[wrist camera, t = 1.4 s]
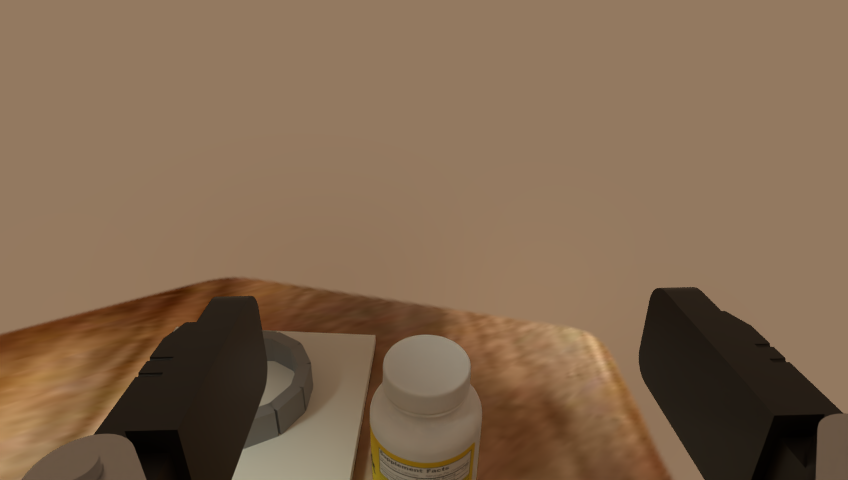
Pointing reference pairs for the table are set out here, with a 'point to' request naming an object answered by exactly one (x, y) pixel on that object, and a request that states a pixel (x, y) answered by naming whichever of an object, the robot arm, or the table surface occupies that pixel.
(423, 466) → the supplement bottle
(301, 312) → the table surface
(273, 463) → the socket plate
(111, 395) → the table surface
